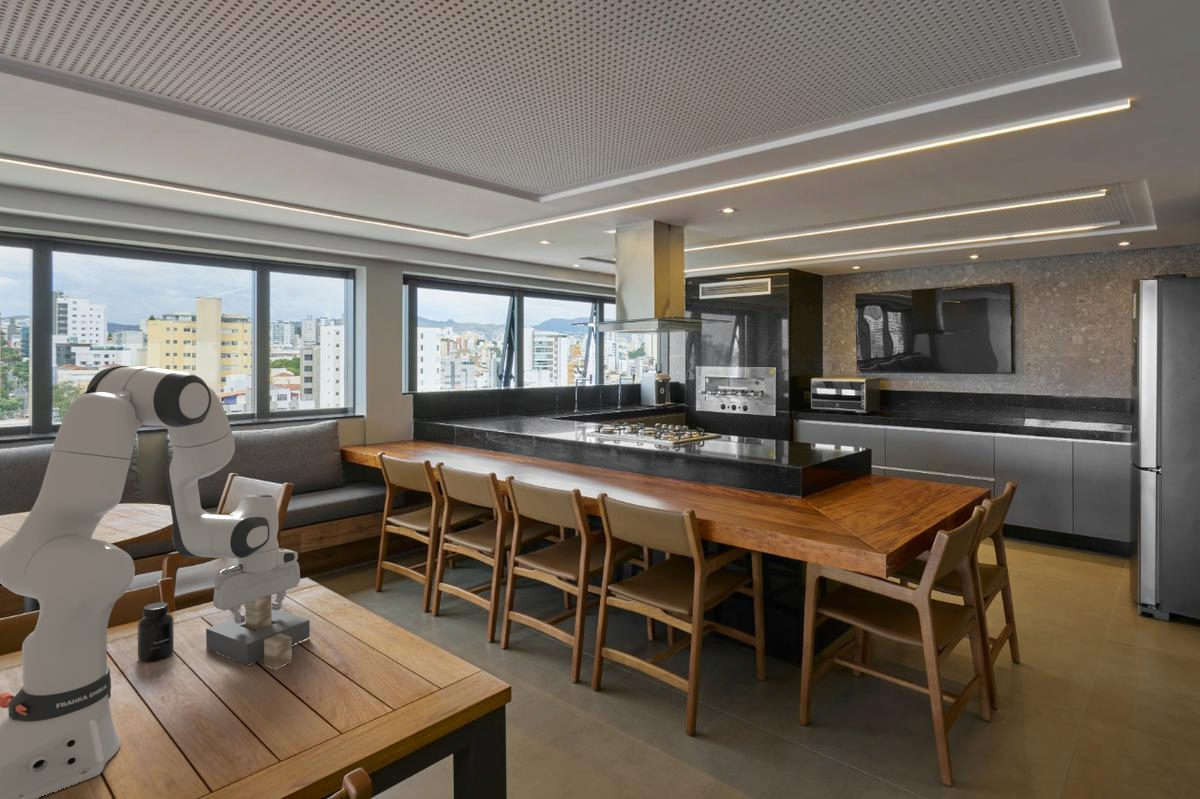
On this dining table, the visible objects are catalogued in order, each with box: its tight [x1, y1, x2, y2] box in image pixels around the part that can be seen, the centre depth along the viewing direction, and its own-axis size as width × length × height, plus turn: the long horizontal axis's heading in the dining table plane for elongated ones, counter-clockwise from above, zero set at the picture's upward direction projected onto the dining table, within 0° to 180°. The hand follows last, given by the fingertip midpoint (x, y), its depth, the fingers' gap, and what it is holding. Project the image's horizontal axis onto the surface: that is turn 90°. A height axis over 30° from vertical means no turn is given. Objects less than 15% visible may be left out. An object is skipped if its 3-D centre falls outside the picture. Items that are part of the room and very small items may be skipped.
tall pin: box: [244, 595, 272, 631], centre depth 155 cm, size 4×4×12 cm
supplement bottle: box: [137, 601, 175, 663], centre depth 148 cm, size 7×7×12 cm
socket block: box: [205, 607, 311, 666], centre depth 156 cm, size 16×16×5 cm
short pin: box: [263, 634, 293, 669], centre depth 146 cm, size 4×4×6 cm
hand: (258, 615), depth 155 cm, fingers open, 8 cm apart
